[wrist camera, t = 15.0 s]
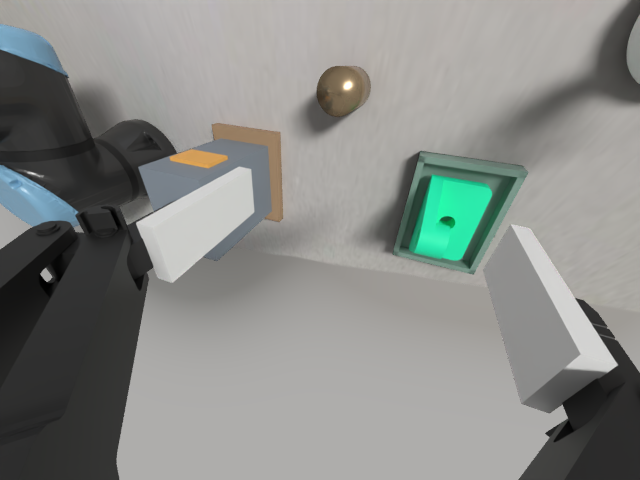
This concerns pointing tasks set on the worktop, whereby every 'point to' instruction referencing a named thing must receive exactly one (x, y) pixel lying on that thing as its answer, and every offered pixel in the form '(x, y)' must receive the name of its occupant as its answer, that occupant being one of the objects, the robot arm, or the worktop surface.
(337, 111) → the cylinder
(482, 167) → the parts tray
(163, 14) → the worktop surface
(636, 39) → the flower in vase
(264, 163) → the mounted unit
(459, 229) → the camera mount
